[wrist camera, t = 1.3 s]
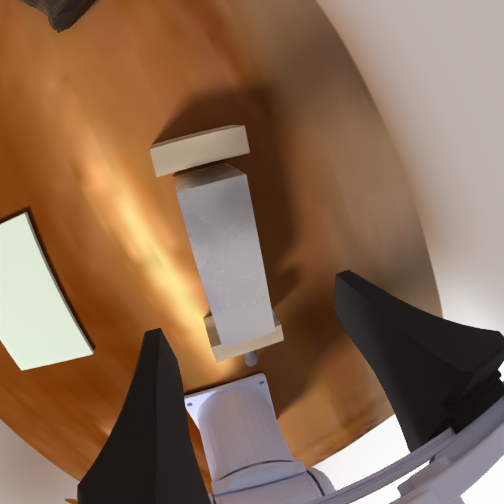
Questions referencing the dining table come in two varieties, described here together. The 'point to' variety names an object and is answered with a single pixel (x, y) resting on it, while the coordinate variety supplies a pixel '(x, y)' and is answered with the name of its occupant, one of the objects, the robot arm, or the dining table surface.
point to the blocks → (197, 153)
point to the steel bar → (226, 250)
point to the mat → (33, 302)
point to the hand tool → (61, 11)
